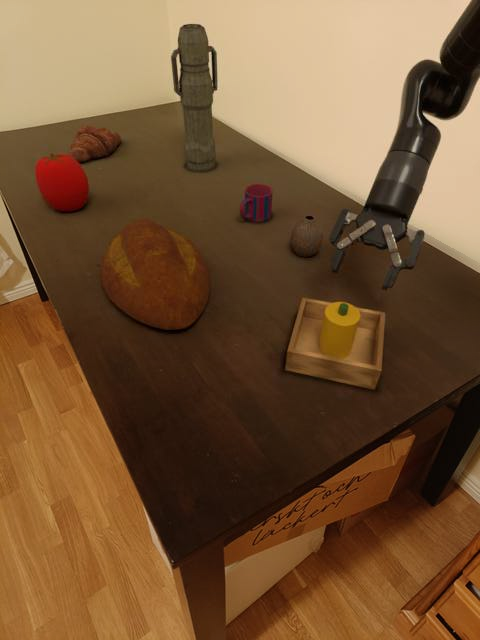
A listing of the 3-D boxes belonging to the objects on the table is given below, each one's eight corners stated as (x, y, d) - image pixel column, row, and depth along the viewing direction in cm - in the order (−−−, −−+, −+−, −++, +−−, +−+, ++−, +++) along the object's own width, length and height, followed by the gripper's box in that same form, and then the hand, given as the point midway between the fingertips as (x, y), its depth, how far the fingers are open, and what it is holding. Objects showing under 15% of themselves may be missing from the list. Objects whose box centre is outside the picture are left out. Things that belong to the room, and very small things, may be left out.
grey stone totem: (176, 164, 129) (162, 25, 105) (211, 155, 133) (204, 20, 109) (189, 175, 124) (177, 31, 99) (225, 166, 128) (221, 26, 104)
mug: (276, 215, 107) (278, 190, 103) (248, 230, 102) (249, 204, 98) (257, 205, 111) (258, 181, 106) (229, 220, 106) (228, 194, 101)
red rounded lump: (35, 214, 108) (14, 158, 98) (61, 193, 116) (44, 140, 106) (78, 221, 105) (62, 165, 95) (102, 200, 113) (89, 146, 103)
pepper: (352, 339, 75) (363, 297, 69) (349, 362, 71) (360, 321, 65) (321, 332, 76) (328, 291, 70) (316, 355, 72) (323, 314, 66)
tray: (379, 331, 78) (385, 312, 74) (374, 390, 68) (381, 370, 65) (299, 316, 81) (302, 297, 77) (285, 370, 71) (287, 350, 68)
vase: (326, 251, 96) (332, 216, 90) (308, 264, 92) (313, 229, 86) (301, 239, 99) (305, 205, 93) (283, 252, 96) (286, 217, 90)
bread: (119, 354, 74) (103, 300, 65) (94, 252, 96) (79, 201, 87) (233, 323, 79) (232, 269, 71) (185, 233, 101) (179, 184, 93)
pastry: (74, 143, 141) (67, 118, 135) (122, 140, 143) (117, 114, 137) (69, 165, 129) (61, 138, 123) (121, 161, 131) (115, 134, 125)
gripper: (352, 168, 69) (314, 262, 70) (443, 189, 63) (401, 291, 64) (357, 185, 76) (322, 271, 76) (440, 206, 70) (402, 298, 71)
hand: (358, 280), depth 70 cm, fingers open, 8 cm apart
